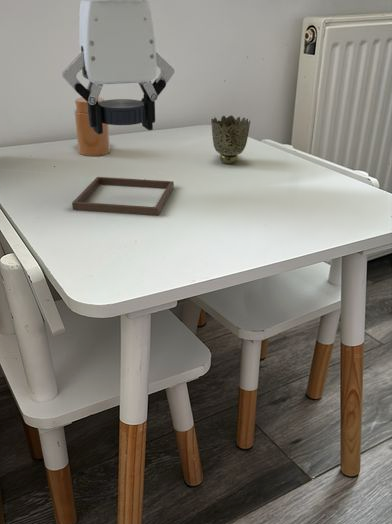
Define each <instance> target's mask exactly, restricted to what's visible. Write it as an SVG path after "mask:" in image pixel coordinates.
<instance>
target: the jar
mask: <svg viewBox="0 0 392 524" xmlns="http://www.w3.org/2000/svg"><path fill="white" fill-rule="evenodd" d="M101 101H105V98H104V97H100V96H99V97H98V103H99V102H101ZM74 103H75V110H74V121H75V131H76V140H77V141H76V142H77V149H78V154H79V155H82V156H85V157H100V156H105V155H107V154H110V152H111V147H110V146H111V145H110V132H109V131H110V130H109V124H104V123H102V126H103V133H102V134H97V133H96V132H95V131H94V129H93V127H90V124H89V114H88V103H87V101H86V100H85V99H84V98H83V97H82V96H81V97H78V98H76V99H75V101H74Z"/></svg>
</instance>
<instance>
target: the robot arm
mask: <svg viewBox="0 0 392 524" xmlns="http://www.w3.org/2000/svg"><path fill="white" fill-rule="evenodd" d="M78 36H79V37H78V39H79V40H78V41H79V54H78V55H77V56H76V57H75V58H74V59H73V60H72V61H71V62H70V64H69V65H67V67H66V68H65V69H64V70H63V71H62V73H61V76H62V78H63V79H64V80H65V81H66V82H67V83H68V85H69V86H70V87H71V88H72V89H73V90H74V91H75V92H76V93H77V94H78V95H79V96H80V97H81V98H82V97H83V98H84V99H85V100H86V101H87V103H88V114H89V124H90V127H93V129H94V131H95V132H96V133H97V134H102V133H103V126H102V114H101V105H99V104H98V97H99V98H100V94H101V92H102V88H103V86H104V85H120V84H138V85H139V88H140V89H141V91H142V94H143V97H142V98H141V100H140V101H143V102H145V104H146V121H145V122H143V123H141V125H142V126H141V127H143V128H144V129H146V130H147V131H153V129H154V128H153V127H154V125H153V124H154V123H156V101H157V100H158V97H159V96H160V94H161V93H162V92H163V91H164V89H165V88H166V86H167V84H168V83H169V81H170V80H171V78H172V77H173V76H174V74H175V69H174V68H173V66H171V65H170V63H168V61H166V60H165V59H164V58H163V57H162V56H161V55H160V54H159V53H158V52H157V49H156V48H157V47H156V40H155V39H156V38H155V31H154V23H153V18H152V12H151V7H150V3H149V0H80V3H79V15H78ZM157 69H159V70H160V73H159V75H158V77H157V71H158V70H157ZM79 72H80V73H81V75H82V76H83V78H85V80H86V79H87V80H88V83H87V84H88V85H87V86H86V87H85V86H84V84H82V83H81V82H80V81H79V79H78V77H77V75H78V73H79ZM156 77H157V78H156ZM155 78H156V79H155ZM154 79H155V80H154ZM153 80H154V81H153ZM152 81H153V82H152Z"/></svg>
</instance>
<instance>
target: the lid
mask: <svg viewBox="0 0 392 524" xmlns="http://www.w3.org/2000/svg"><path fill="white" fill-rule="evenodd" d="M98 104H99V105H101V114H102V123H104V124H108V126H132V125H133V126H134V125H139V124H142V123H143V122H145V121H146V104H145V102H143V101H141V100H138V99H131V98H114V99H104V101H101V102H99V103H98Z"/></svg>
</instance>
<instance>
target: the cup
mask: <svg viewBox="0 0 392 524" xmlns="http://www.w3.org/2000/svg"><path fill="white" fill-rule="evenodd" d="M210 122H211V136H212V137H211V138H212V144H213V147H214V150H215V151H216V153H218V154H219V161H220V162H221V163H222V164H227V165H233V164H236V163H237V162H238V160H239V155H240V154H242V153H243V152H244V150H245V149H246V146H247V142H248V138H249V133H250V126H251V120H249V118H246V117H243V118H241V117H240V116H238V117H236V118H235V117H234V115H232V114H230V115H228V116H227V117H226V116H225V115H222V116H221V118H220V120H219V119H217V117H216V116H214V118H211V121H210Z"/></svg>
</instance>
